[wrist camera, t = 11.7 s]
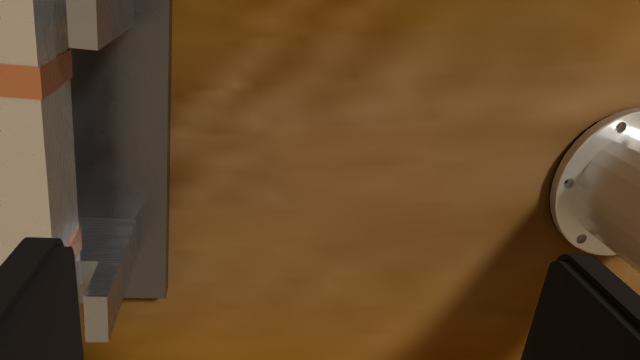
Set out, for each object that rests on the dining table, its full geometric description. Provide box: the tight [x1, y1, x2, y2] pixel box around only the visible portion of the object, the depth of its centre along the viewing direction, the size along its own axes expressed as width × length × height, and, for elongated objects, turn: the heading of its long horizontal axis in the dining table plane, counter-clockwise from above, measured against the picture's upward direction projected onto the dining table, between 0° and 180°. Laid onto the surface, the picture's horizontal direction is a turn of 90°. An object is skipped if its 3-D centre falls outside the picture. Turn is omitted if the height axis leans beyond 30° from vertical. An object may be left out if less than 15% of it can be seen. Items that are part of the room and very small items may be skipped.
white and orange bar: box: [0, 0, 85, 342], centre depth 26 cm, size 24×5×5 cm, turn 173°
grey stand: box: [66, 0, 172, 342], centre depth 29 cm, size 13×26×10 cm, turn 173°
